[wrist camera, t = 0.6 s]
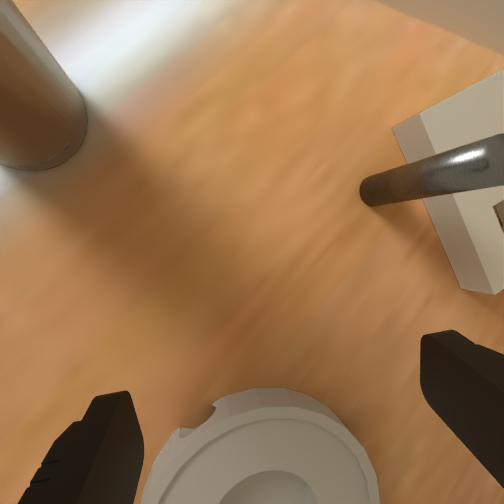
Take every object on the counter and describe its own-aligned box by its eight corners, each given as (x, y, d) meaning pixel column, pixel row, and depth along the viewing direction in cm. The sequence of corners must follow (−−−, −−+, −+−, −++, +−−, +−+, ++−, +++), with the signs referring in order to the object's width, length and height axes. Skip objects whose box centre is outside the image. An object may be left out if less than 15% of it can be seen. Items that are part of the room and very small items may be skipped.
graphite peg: (354, 184, 33) (475, 146, 19) (379, 170, 33) (513, 124, 20) (367, 211, 33) (493, 194, 20) (391, 197, 34) (530, 171, 20)
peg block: (391, 127, 33) (418, 113, 30) (476, 82, 35) (512, 63, 31) (461, 288, 36) (494, 295, 32) (536, 239, 38) (576, 239, 34)
